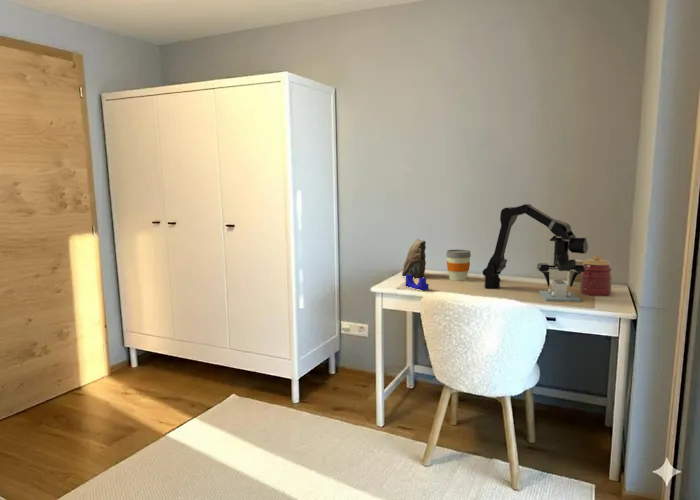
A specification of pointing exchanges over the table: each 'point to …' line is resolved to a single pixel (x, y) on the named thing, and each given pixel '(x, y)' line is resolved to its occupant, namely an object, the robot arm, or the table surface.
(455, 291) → the table surface
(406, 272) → the brown tall pointed piece
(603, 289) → the canister
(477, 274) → the table surface
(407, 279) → the cable clip
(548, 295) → the pin tray
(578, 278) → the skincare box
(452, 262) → the reusable coffee cup
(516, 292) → the table surface
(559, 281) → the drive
